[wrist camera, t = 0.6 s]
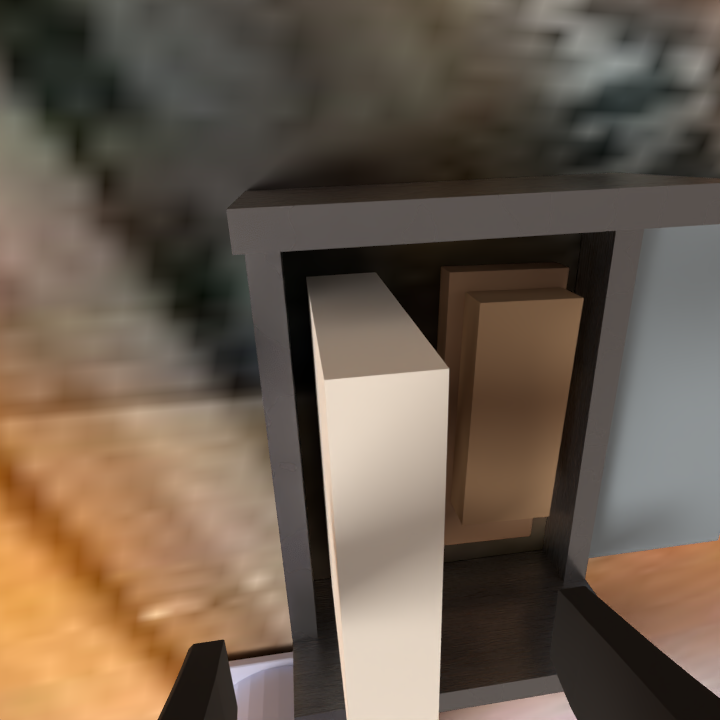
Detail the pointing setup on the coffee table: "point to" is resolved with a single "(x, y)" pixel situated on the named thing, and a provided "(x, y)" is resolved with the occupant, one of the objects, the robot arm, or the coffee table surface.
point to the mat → (666, 402)
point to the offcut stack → (504, 393)
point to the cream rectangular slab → (381, 492)
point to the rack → (581, 424)
